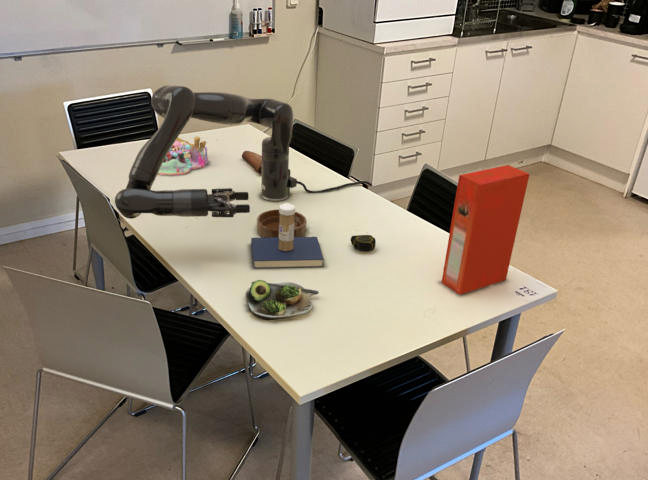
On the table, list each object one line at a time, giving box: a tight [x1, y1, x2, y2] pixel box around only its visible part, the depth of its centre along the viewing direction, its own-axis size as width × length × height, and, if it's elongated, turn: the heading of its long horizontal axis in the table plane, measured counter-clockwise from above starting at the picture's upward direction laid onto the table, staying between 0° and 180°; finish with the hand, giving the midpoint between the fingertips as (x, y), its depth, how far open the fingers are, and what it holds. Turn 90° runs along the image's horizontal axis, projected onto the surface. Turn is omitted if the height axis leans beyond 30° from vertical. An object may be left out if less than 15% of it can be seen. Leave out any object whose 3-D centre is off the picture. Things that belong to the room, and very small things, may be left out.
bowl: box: [256, 209, 308, 238], centre depth 209 cm, size 15×15×4 cm
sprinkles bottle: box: [278, 203, 296, 251], centre depth 192 cm, size 5×5×13 cm
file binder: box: [441, 164, 530, 295], centre depth 180 cm, size 8×17×32 cm, turn 121°
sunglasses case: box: [241, 150, 262, 176], centre depth 256 cm, size 18×7×7 cm
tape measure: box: [350, 234, 377, 253], centre depth 201 cm, size 7×7×4 cm
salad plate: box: [245, 279, 320, 321], centre depth 174 cm, size 19×18×5 cm
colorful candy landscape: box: [157, 136, 209, 177], centre depth 254 cm, size 25×24×9 cm
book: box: [250, 236, 324, 269], centre depth 196 cm, size 14×20×3 cm
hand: (249, 202), depth 186 cm, fingers open, 8 cm apart
